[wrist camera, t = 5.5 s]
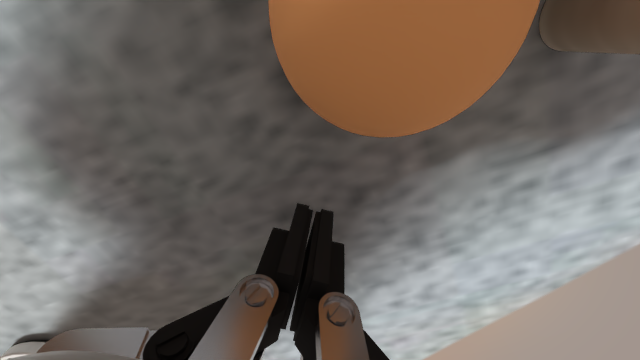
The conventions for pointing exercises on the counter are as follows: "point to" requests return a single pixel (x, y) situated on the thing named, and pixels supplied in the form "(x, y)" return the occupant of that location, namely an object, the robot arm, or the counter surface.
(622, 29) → the pin side
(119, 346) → the robot arm
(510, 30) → the ball
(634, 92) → the counter surface
